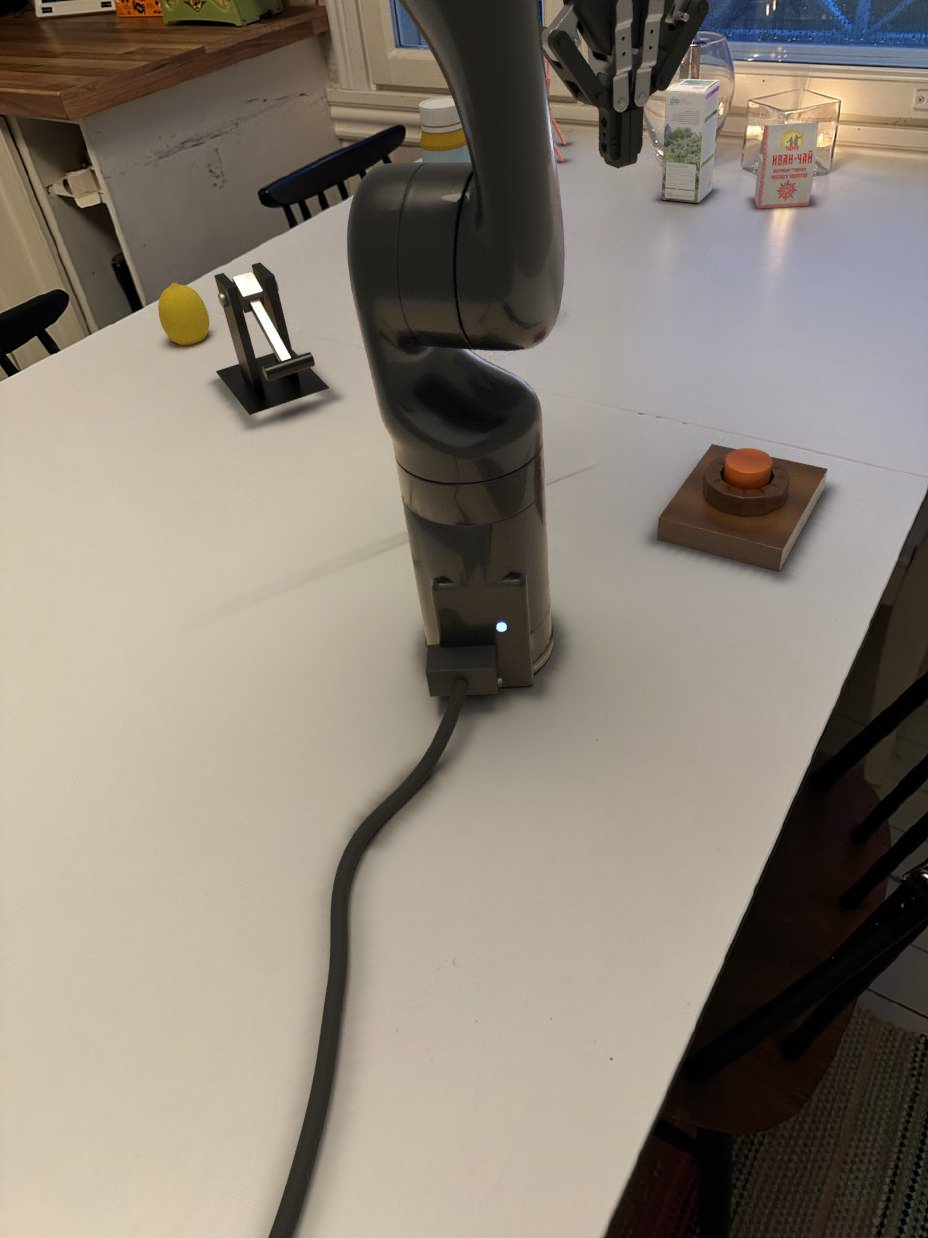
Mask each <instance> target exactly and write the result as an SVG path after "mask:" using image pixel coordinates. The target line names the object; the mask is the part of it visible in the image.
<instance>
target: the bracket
mask: <svg viewBox="0 0 928 1238" xmlns="http://www.w3.org/2000/svg"><path fill="white" fill-rule="evenodd" d="M251 269H252V272H253V273H254V275H255V277H256V279H257V281H258V282H259V284H260V286H261V288H262V290H263V294H264V306H265V307H264V308H265V310H266V312H267V314H268V316H269V318H270V319H271V321H272V323H273V325H274V327H275V329H276V330H277V332H278V334H279V336H280V338H281V340H282V341H283V343H284V345H285V347H286V349H287V351H288V352H289V354H290V356H291V358H292V357H295V356H298V354H297V352H295V351H294V349H293V347H292V342H291V340H290V336H289V335H290V334H289V331H288V325H287V322H286V317H285V314H284V309H283V305H282V301H281V297H280V293H279V290H280V288H279V284H278V281H277V280H276V275H275V274H274V273H272V271H271V270H270V269H268V268H267V267H266V266H265V265H264V263H262V262H261V261H260V262H257V263H253V264H251ZM213 277H214V281H215V284H216V287H217V291H218V293H217V298H218V301H219V304H220V306H221V307H222V309H223V312H224V316H225V319H226V323H227V326H228V329H229V333H230V337H231V340H232V344H233V347H234V351H235V355H236V358H237V361H238V363H237V364H234V365H230V366H227V367H225V368H224V367H223V368H221V369H218V370H216V371H215V373H216V374H217V375H218V376H219V378H220V379H221V380H222V382H223V383H224V384H225V386H226V387H227V389H228V390H229V391H230V392H231V393H232V394H233V396H234V397H235V399H236V400H237V401H238V402H239V403H240V405H241V406H242V408H243V409H244V410H245V412H247V414H248V415H249V416H252V415H254V414H257V413H260V412H263V411H267V410H270V409H272V408H275V407H278V406H281V405H284V404H287V403H290V402H293V401H295V400H299V399H302V398H305V397H309V396H311V395H314V394H316V393H320V392H322V391H326V390H328V389H330V387H329V386H328V384H327V383H326V382H324V381H323V379H322V378H321V377H320V376H319V375H318V374H317V373H316V372H315V371H314V370H313V369H312V367H311V368H308V369H305V370H301V371H298V372H295V373H292V374H289V375H286V376H283V377H280V378H277V379H274V380H271V381H267V380H266V378H265V376H264V374H263V370H262V368H263V367H264V366H267V365H270V364H273V363H277V362H279V361H278V359H277V357H276V356H275V354H274V352H273V351H272V352H271V353H268V354H265V355H262V356H259V357H256V353H255V350H254V347H253V343H252V338H251V335H250V331H249V327H248V324H247V320H246V316H245V313H244V311H243V308H242V305H241V301H240V297H239V293H238V290H237V286H236V285H235V284H234V283H233V280H231V279H230V277H228V275H226V274H225V272H221V273H218V274H214V276H213Z"/></svg>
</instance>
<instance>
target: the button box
mask: <svg viewBox="0 0 928 1238" xmlns="http://www.w3.org/2000/svg"><path fill="white" fill-rule="evenodd" d="M734 450H737V448H733V447H729V446H723V445H719V444H715V443H714V444H713V443H711V444H710V446H709V448H708V449H707V450H706V451H705V453H704V454H703V455H702V457H701V458H700V460H699V461H698V462H697V464H696V465H695V467H694V468H693V470H692V471H691V472H690V474H689V475H688V477H686V479H685V481H684V482H683V483H682V485H681V486H680V488H678V490H677V491H676V493H675V494H674V496H673V497H672V498H671V500H670V501H669V503H668V504H667V505H666V507H665V508H664V510H663V511H662V513H660V515H659V517H658V520H657V538H656V539H657V540H659V541H662V542H666V543H670V544H674V545H677V546H681V547H685V548H689V549H693V550H697V551H700V552H703V553H708V554H710V555H715V556H719V557H723V558H726V559H730V560H733V561H737V562H741V563H744V564H749V565H752V566H756V567H760V568H763V569H767V570H771V571H773V572H780V571H781V569H782V567H783V565H784V564H785V562H786V560H787V558H788V556H789V554H790V553H791V551H792V549H793V547H794V545H795V543H796V541H797V539H798V538H799V536H800V534H801V532H802V530H804V529H803V528H805V525H806V523H807V521H808V520H809V518H810V517H811V514H812V512H813V510H814V508H815V507H816V506H817V503H818V501H819V499H820V497H821V495H822V494H823V492H824V490H825V486H826V480H827V476H828V475H827V474H828V468H827V467H826V468H825V467H821V466H816V465H813V464H812V465H811V464H808V463H803V462H799V461H793V460H789V459H784V458H779V457H775V456H770V455H769V456H770V457H771V458H772V468H771V475H770V481H769V483H768V484H767V485H766V486H764V487H762V488H760V489H748V490H744V489H740V488H736V487H732V486H730V485H729V484H727V483H726V482H725V480H724V468H725V459H726V456H727V455H728V454H729V453H730V452H732V451H734Z"/></svg>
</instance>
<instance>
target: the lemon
mask: <svg viewBox="0 0 928 1238" xmlns="http://www.w3.org/2000/svg"><path fill="white" fill-rule="evenodd" d="M157 303H158V304H157V305H158V308H157V309H158V317H159V321H160V325H161V328H162V329H163V331H164V332H165V334H166V335H167V337H168V338H169V339H170V340H171V341H172V342H174V343H176V344H178V345H180V346H191V345H196V344H198V343H200V342H202V341H204V340H205V338H206V337H207V335H208V333H209V331H210V330H209V329H210V316H209V312H208V309H207V307H206V304H205V302H204V300H203V298H202V297H201V296H200V294H199V293H198V292H197V291H196V290H195V289H193V288H192V287H191V286H189V285H185V284H179V283H177V282H172V283H171V284H170V285H169V286H168V287H167V288H165V289H164V290H163V291H162V292H161V295H160V296H159V299H158V302H157Z"/></svg>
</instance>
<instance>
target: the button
mask: <svg viewBox="0 0 928 1238" xmlns="http://www.w3.org/2000/svg"><path fill="white" fill-rule="evenodd" d="M736 449H737V448H736ZM771 457H772V456H771ZM771 457H770V454H769V453H768V452H765V450H761V449H758V448H752V447H743V448H738V449H737V450H734V451H732V452H730V453H729V454H728V455H727V456H726V459H725V468H724V480H725V482H726V483H727V484H729V485H730V486H732V487H736V488H740V489H744V490H748V489H760V488H762V487H764V486H766V485H767V484H768V483H769V481H770V475H771V468H772V458H771Z"/></svg>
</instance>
